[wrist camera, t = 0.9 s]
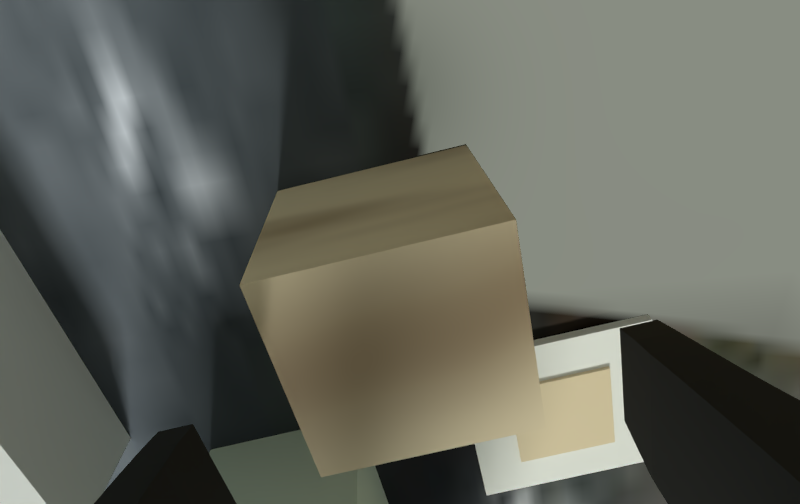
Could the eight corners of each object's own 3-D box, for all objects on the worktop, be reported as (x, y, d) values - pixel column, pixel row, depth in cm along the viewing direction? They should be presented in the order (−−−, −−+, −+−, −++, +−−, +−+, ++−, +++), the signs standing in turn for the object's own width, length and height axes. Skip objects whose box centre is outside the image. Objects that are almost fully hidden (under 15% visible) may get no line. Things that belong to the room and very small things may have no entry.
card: (650, 452, 19) (656, 461, 19) (484, 488, 19) (487, 498, 19) (647, 314, 16) (654, 321, 16) (454, 358, 17) (456, 366, 16)
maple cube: (494, 304, 16) (546, 427, 12) (331, 342, 16) (320, 477, 12) (465, 143, 14) (516, 219, 9) (277, 190, 14) (239, 285, 10)
